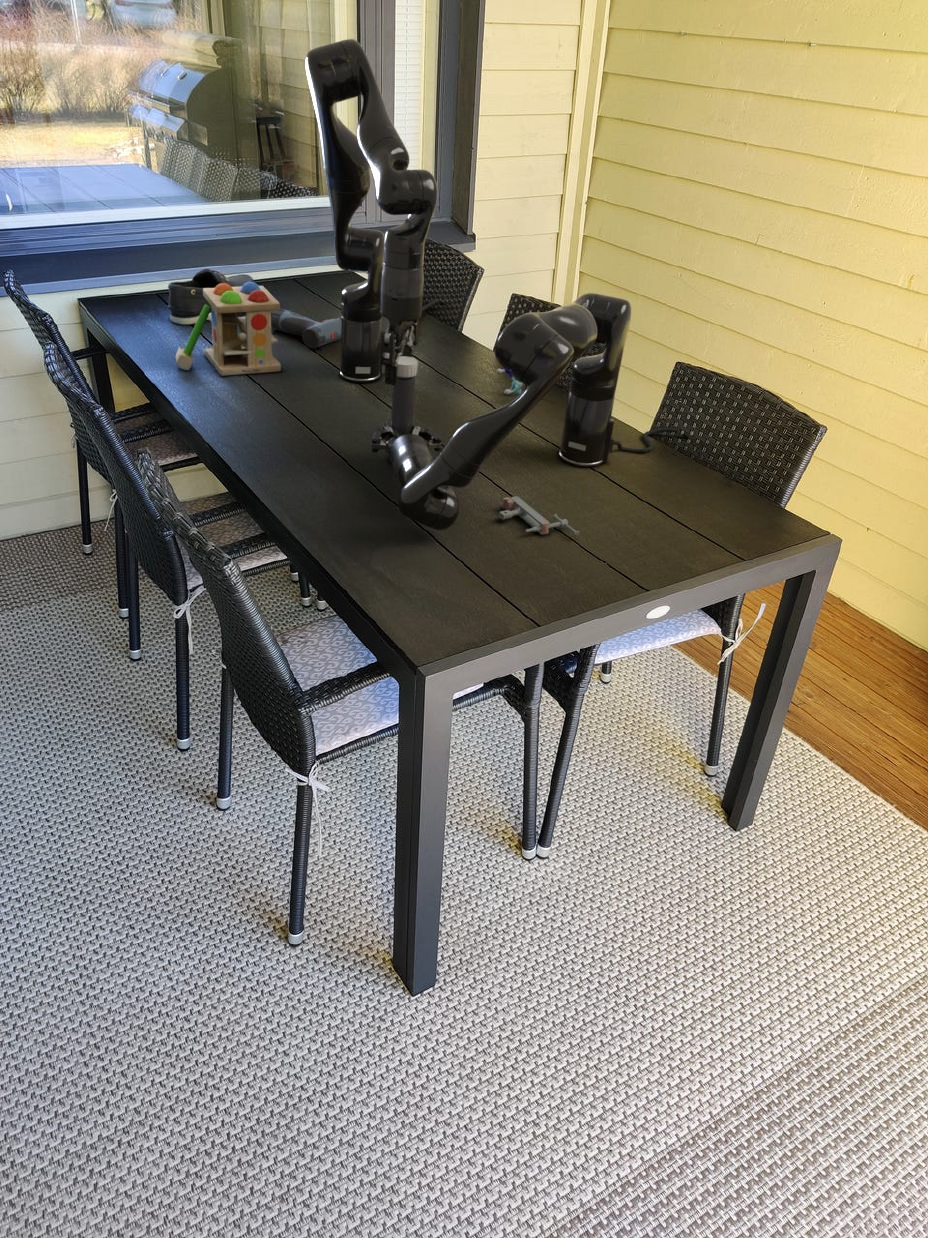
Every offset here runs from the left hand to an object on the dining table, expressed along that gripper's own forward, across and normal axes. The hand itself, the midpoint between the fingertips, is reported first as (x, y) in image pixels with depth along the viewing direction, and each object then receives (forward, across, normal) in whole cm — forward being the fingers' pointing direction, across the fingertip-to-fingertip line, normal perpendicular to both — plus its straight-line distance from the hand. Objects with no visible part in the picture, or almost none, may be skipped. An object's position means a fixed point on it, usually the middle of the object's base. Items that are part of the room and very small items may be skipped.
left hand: (397, 377), depth 186 cm
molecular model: (+18, -46, +14) cm, 51 cm away
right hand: (+11, -3, 0) cm, 11 cm away
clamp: (+17, +14, +32) cm, 39 cm away
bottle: (+17, 0, +1) cm, 17 cm away
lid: (-3, -1, +1) cm, 3 cm away
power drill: (+18, -61, -46) cm, 78 cm away
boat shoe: (+18, -66, -76) cm, 102 cm away
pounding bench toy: (+18, -30, -54) cm, 64 cm away
